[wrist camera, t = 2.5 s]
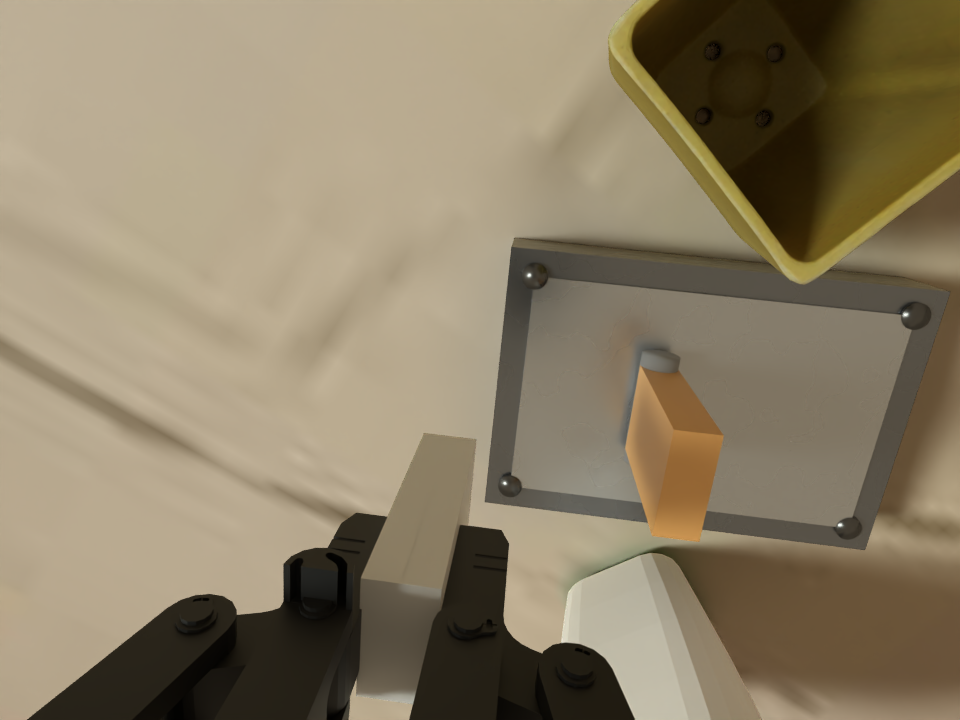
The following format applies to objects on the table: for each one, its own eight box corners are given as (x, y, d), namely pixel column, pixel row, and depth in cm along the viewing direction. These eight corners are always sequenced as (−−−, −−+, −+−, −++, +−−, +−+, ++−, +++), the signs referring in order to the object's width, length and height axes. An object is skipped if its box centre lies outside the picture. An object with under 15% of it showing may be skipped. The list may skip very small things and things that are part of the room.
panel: (514, 238, 26) (511, 247, 23) (903, 277, 25) (953, 292, 22) (489, 469, 29) (484, 504, 26) (832, 511, 29) (867, 552, 26)
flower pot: (907, 95, 23) (1122, 54, 15) (714, 250, 26) (802, 293, 17) (769, -102, 22) (918, -274, 13) (577, 81, 24) (598, 36, 16)
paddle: (639, 348, 24) (677, 415, 17) (676, 351, 24) (727, 421, 17) (620, 451, 25) (649, 548, 19) (655, 455, 25) (696, 554, 19)
